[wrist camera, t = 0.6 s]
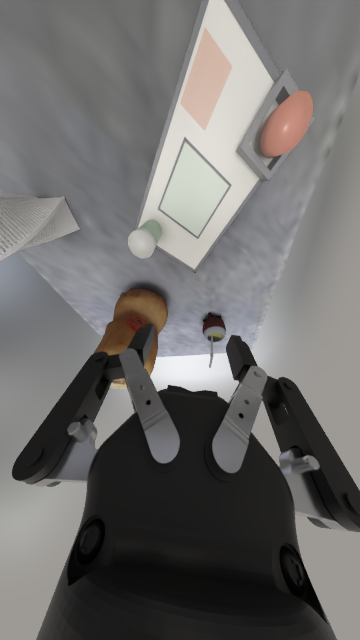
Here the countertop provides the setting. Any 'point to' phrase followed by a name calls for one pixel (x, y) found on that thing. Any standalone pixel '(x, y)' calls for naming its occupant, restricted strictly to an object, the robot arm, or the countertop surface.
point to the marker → (145, 239)
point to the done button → (286, 125)
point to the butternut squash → (134, 325)
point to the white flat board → (213, 134)
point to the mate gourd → (213, 330)
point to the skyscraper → (32, 221)
